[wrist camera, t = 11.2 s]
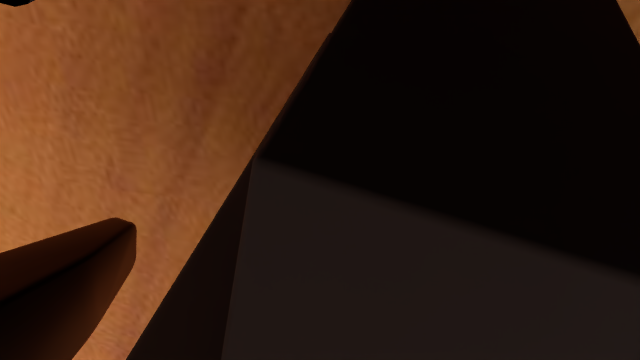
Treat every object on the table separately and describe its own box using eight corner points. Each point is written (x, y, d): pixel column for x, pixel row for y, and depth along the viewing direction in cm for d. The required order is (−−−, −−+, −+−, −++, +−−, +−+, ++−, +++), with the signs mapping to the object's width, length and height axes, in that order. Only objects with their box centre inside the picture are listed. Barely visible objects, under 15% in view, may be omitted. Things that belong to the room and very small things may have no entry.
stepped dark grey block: (462, 294, 16) (435, 742, 8) (283, 236, 16) (111, 619, 9) (640, -50, 10) (993, 390, 3) (364, -125, 10) (85, 106, 3)
